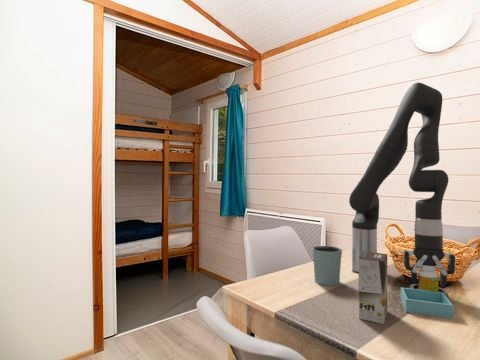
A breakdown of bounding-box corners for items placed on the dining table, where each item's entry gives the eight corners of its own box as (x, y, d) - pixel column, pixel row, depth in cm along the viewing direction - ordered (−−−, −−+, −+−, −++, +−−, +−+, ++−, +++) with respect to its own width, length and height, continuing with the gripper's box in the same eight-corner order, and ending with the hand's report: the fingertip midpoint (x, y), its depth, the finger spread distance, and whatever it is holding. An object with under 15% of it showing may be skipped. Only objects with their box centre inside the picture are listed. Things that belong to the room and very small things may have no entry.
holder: (413, 299, 91) (413, 292, 91) (407, 287, 101) (407, 282, 101) (451, 304, 87) (451, 297, 87) (442, 291, 97) (442, 285, 97)
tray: (405, 312, 82) (405, 299, 82) (400, 298, 92) (400, 287, 92) (453, 318, 78) (453, 305, 78) (442, 304, 88) (442, 292, 88)
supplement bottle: (431, 300, 90) (431, 268, 91) (414, 294, 95) (414, 263, 95) (442, 296, 93) (441, 265, 93) (424, 291, 98) (424, 261, 98)
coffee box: (385, 324, 75) (385, 261, 75) (358, 318, 78) (358, 258, 78) (387, 311, 83) (387, 253, 83) (363, 306, 86) (363, 250, 86)
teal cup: (310, 284, 104) (310, 250, 104) (314, 275, 114) (314, 244, 114) (341, 288, 101) (341, 252, 101) (342, 279, 110) (342, 246, 110)
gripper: (404, 233, 93) (404, 286, 93) (459, 236, 88) (459, 292, 88) (401, 229, 100) (401, 278, 100) (451, 232, 95) (451, 284, 95)
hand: (428, 284), depth 94 cm, fingers open, 7 cm apart
